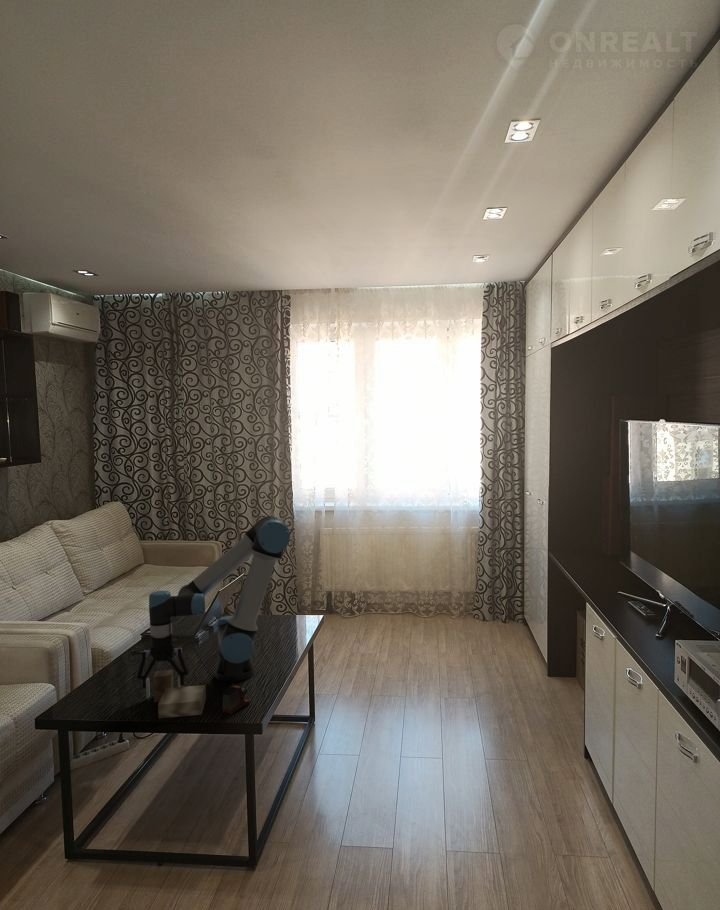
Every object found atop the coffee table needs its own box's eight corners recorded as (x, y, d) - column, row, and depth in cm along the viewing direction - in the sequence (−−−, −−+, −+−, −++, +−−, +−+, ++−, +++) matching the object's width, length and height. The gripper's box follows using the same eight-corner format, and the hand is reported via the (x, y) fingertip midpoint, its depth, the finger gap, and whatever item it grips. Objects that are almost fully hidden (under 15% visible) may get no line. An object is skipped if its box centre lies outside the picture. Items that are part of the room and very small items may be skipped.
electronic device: (250, 704, 223) (249, 682, 223) (231, 715, 215) (230, 693, 215) (241, 701, 226) (240, 680, 225) (221, 712, 217) (220, 690, 217)
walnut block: (174, 693, 235) (172, 669, 234) (171, 700, 229) (170, 675, 229) (157, 695, 234) (155, 671, 234) (154, 702, 228) (153, 677, 228)
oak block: (206, 698, 230) (205, 684, 230) (201, 715, 216) (200, 701, 216) (166, 702, 229) (165, 688, 228) (158, 719, 215) (158, 704, 214)
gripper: (195, 629, 236) (198, 688, 237) (130, 634, 233) (133, 694, 234) (192, 635, 228) (195, 696, 229) (125, 640, 225) (128, 702, 226)
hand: (164, 695), depth 231 cm, fingers open, 10 cm apart
